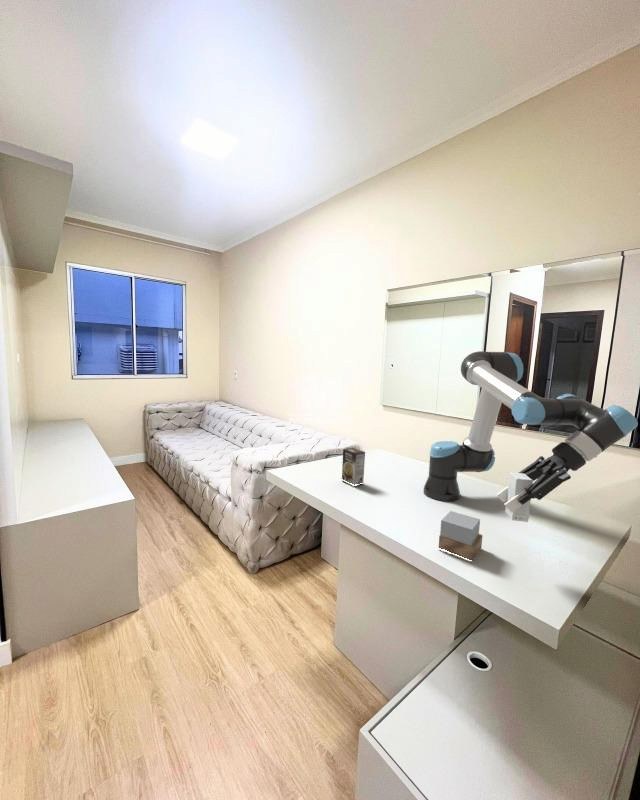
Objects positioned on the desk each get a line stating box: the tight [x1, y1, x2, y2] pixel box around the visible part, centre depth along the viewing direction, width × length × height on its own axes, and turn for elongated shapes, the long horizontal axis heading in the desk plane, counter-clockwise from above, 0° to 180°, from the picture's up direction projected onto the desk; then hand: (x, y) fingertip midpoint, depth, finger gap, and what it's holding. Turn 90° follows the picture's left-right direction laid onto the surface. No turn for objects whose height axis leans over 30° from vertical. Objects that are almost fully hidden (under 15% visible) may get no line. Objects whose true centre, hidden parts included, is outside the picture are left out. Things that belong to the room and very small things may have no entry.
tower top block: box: [439, 510, 481, 546], centre depth 106 cm, size 9×9×5 cm
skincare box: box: [504, 472, 534, 523], centre depth 96 cm, size 6×4×12 cm
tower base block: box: [438, 533, 483, 562], centre depth 106 cm, size 10×10×5 cm
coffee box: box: [341, 447, 366, 485], centre depth 162 cm, size 9×6×16 cm
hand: (503, 503), depth 97 cm, fingers closed on skincare box, 6 cm apart
